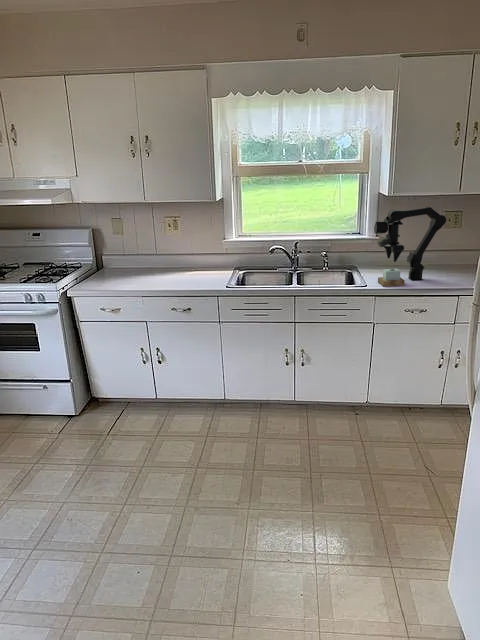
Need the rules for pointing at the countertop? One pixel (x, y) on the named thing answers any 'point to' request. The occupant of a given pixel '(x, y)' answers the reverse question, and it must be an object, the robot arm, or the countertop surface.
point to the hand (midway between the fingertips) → (391, 260)
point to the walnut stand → (390, 282)
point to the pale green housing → (391, 274)
